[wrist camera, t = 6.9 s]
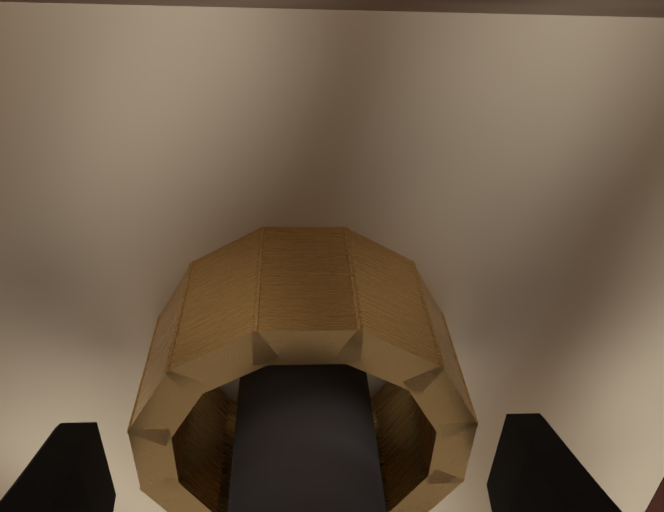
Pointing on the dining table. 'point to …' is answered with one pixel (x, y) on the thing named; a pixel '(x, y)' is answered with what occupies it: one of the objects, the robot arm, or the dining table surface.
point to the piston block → (339, 218)
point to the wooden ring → (300, 362)
